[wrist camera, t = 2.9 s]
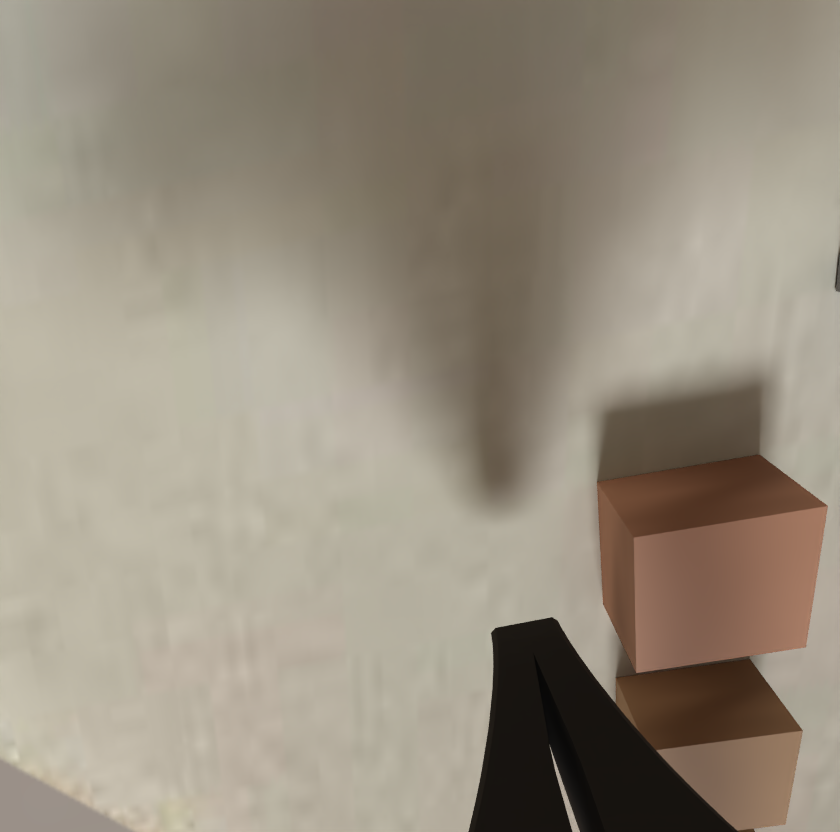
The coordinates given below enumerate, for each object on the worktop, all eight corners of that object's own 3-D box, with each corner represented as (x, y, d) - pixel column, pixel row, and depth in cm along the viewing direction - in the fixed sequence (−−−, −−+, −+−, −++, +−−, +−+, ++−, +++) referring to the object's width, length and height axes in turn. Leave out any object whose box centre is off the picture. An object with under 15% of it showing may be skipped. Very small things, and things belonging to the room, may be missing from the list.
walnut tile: (745, 652, 16) (802, 730, 14) (735, 741, 18) (785, 824, 15) (612, 671, 16) (647, 751, 14) (614, 757, 18) (646, 842, 15)
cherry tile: (753, 450, 13) (827, 506, 11) (743, 576, 15) (805, 647, 13) (594, 477, 13) (634, 537, 11) (600, 598, 15) (636, 672, 13)
